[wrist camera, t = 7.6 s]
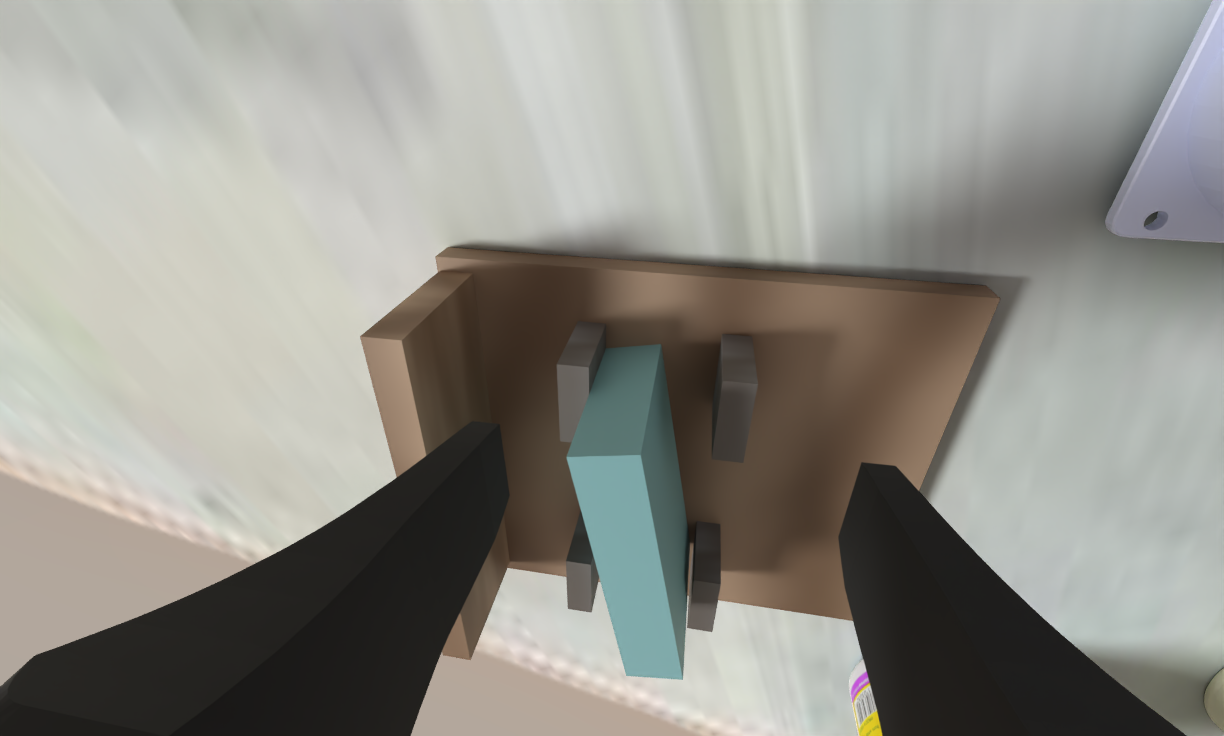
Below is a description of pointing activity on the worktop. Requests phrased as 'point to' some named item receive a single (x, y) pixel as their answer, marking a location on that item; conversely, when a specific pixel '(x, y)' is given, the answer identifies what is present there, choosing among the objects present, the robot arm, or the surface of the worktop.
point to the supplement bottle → (863, 702)
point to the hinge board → (680, 405)
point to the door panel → (635, 508)
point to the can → (1216, 699)
